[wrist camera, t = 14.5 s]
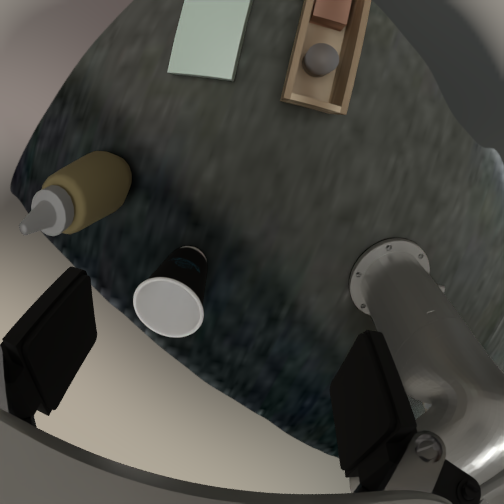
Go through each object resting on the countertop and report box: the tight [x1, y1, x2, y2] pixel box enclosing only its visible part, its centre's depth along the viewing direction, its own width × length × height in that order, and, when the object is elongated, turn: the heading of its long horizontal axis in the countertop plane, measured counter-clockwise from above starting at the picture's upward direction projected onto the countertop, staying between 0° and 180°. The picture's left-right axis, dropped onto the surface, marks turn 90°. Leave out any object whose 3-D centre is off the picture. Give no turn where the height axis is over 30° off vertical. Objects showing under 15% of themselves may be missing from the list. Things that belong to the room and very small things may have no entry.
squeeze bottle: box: [19, 151, 132, 236], centre depth 28 cm, size 8×8×18 cm
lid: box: [168, 0, 253, 82], centre depth 25 cm, size 7×20×2 cm, turn 169°
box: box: [280, 0, 371, 115], centre depth 24 cm, size 6×19×8 cm, turn 168°
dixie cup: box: [133, 246, 208, 337], centre depth 36 cm, size 8×8×11 cm
